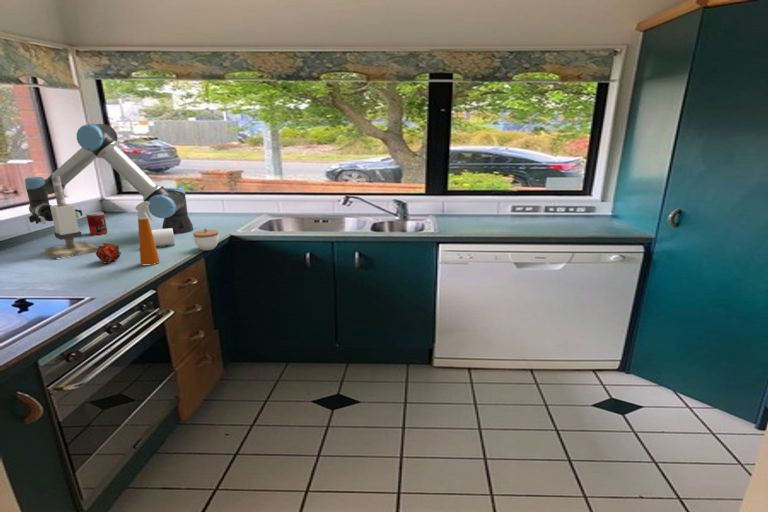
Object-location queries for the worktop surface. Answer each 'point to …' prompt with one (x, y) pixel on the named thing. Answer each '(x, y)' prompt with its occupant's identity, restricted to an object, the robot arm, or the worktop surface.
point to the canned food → (97, 223)
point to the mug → (163, 237)
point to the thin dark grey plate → (68, 235)
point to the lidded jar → (206, 239)
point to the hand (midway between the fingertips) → (62, 218)
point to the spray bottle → (146, 235)
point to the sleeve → (64, 219)
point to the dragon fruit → (108, 252)
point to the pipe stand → (70, 246)
